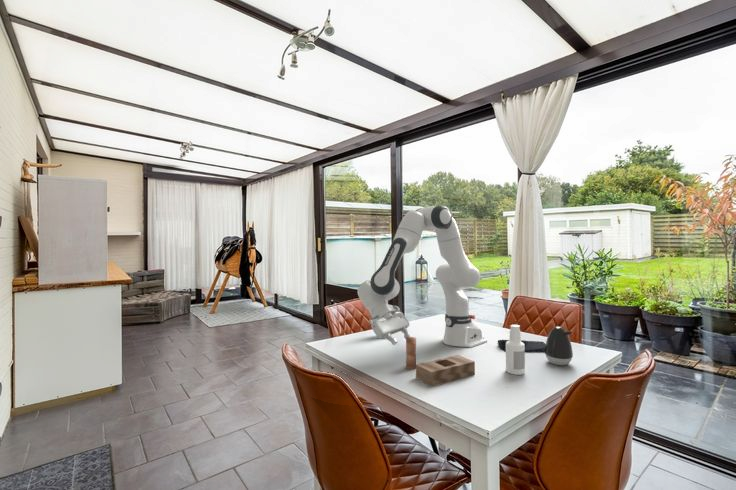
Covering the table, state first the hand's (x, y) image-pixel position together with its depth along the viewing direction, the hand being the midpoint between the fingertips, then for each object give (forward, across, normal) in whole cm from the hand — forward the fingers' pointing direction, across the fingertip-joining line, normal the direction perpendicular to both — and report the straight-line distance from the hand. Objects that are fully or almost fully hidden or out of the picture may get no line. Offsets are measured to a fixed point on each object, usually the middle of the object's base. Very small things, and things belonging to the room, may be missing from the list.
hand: (402, 341), depth 144 cm
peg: (+10, 0, +4) cm, 11 cm away
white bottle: (+34, +21, -20) cm, 45 cm away
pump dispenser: (+42, +41, -28) cm, 65 cm away
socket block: (+21, +1, -6) cm, 22 cm away
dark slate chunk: (+30, +54, -15) cm, 64 cm away
